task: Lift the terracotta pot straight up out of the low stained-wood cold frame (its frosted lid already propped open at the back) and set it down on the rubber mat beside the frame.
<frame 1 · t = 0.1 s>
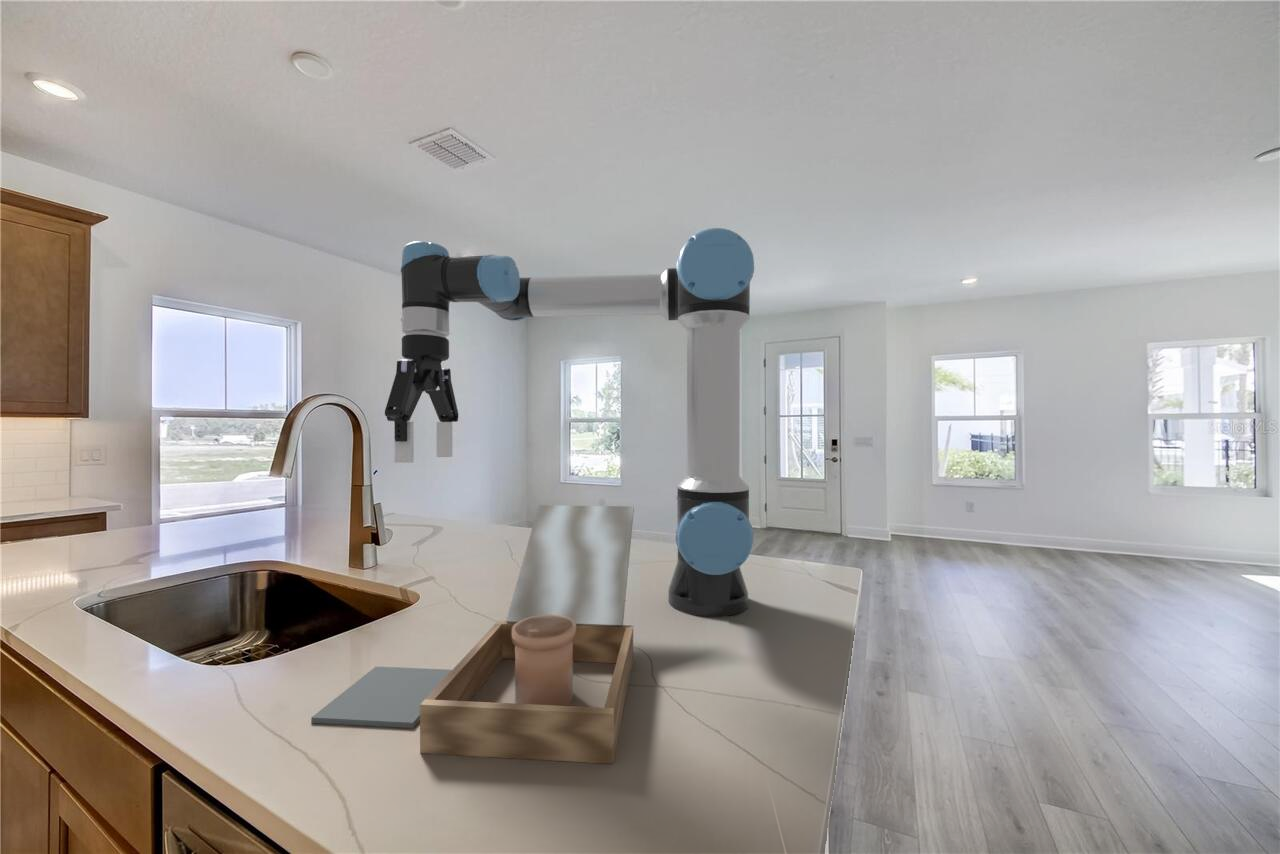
hand: (425, 459, 86), 28 cm above the worktop, fingers open, 13 cm apart
pot: (544, 662, 62), in the cold frame
cold frame: (544, 699, 62), on the worktop
mat: (392, 696, 62), on the worktop
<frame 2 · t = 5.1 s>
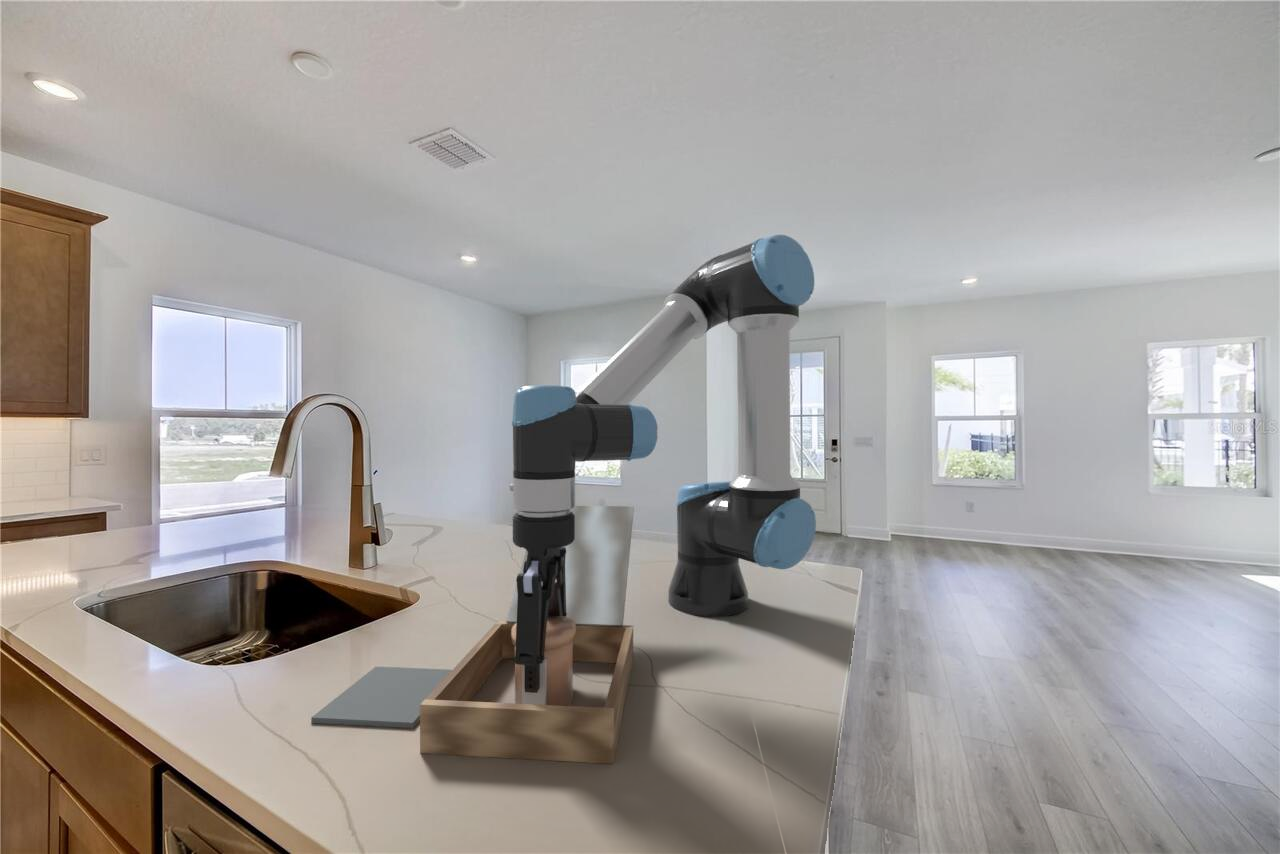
hand: (543, 697, 62), 0 cm above the worktop, fingers closed on pot, 7 cm apart
pot: (544, 663, 62), in the cold frame, touching gripper
when the fingers open (2 cm above the worktop, at t = 12.2 s): pot drops 1 cm, resting on mat.
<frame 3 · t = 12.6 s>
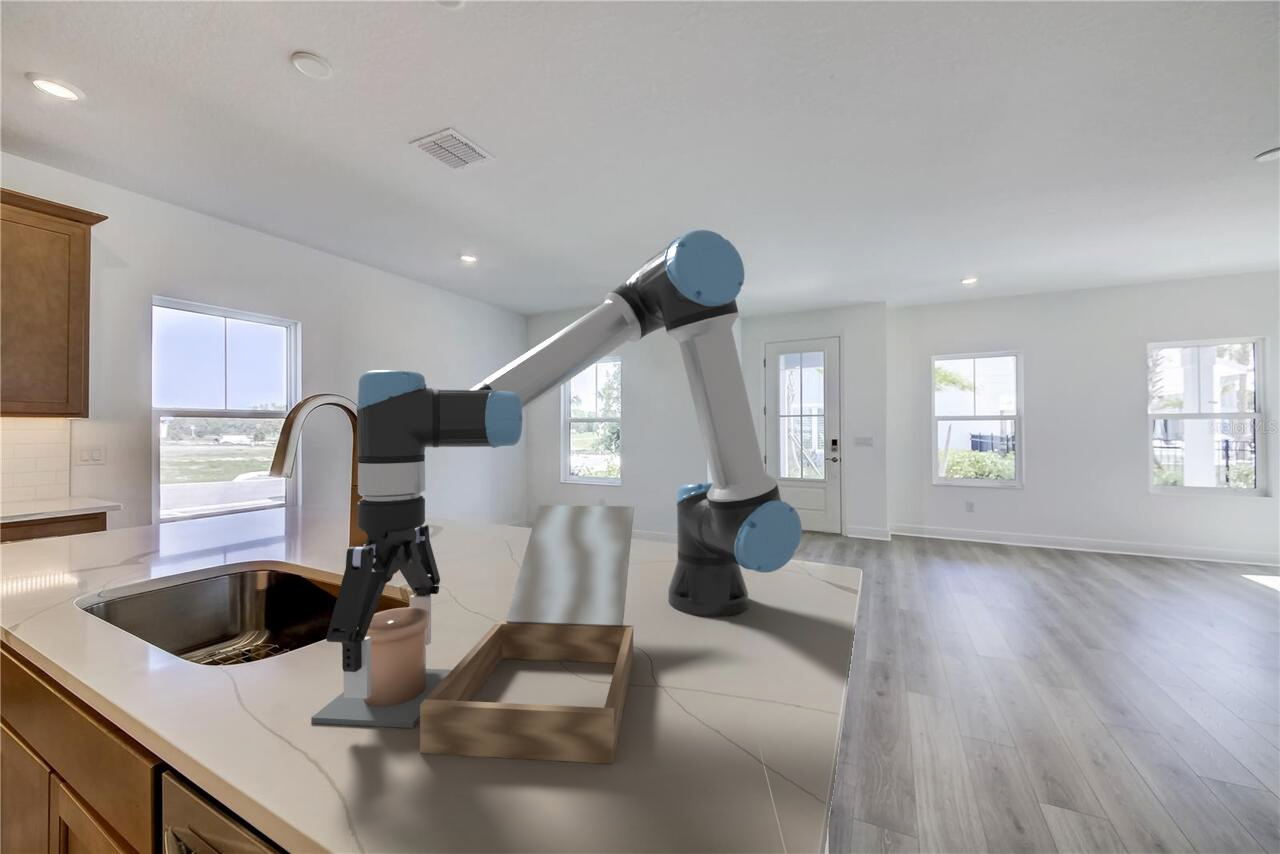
hand: (392, 667, 62), 4 cm above the worktop, fingers open, 13 cm apart
pot: (395, 654, 62), on the mat, point 5 cm above the worktop
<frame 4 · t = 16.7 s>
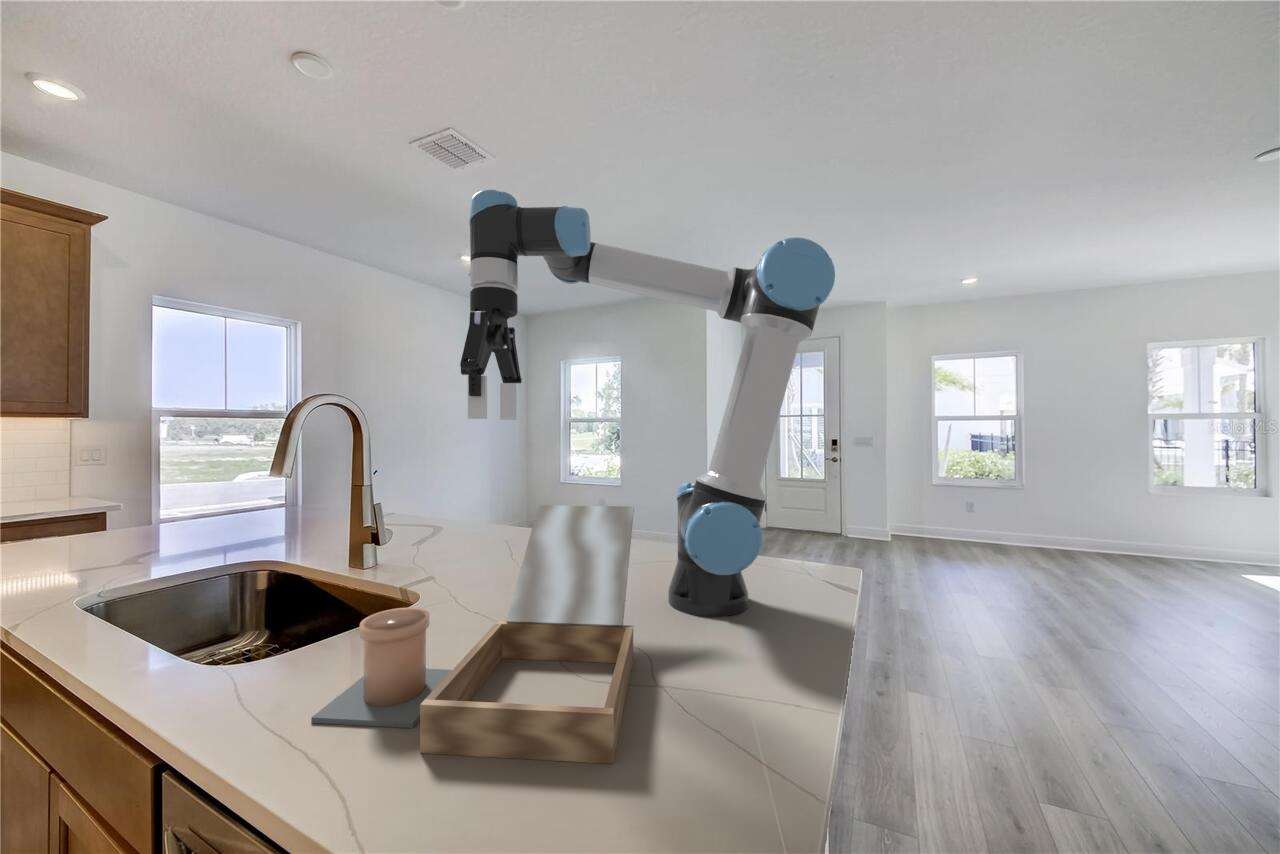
hand: (494, 419, 83), 35 cm above the worktop, fingers open, 13 cm apart
nothing on the worktop moved.
at the end: pot inside the target area on the mat (0.4 cm from its centre), point 5.1 cm above the mat's base; pot tilted 0° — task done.
